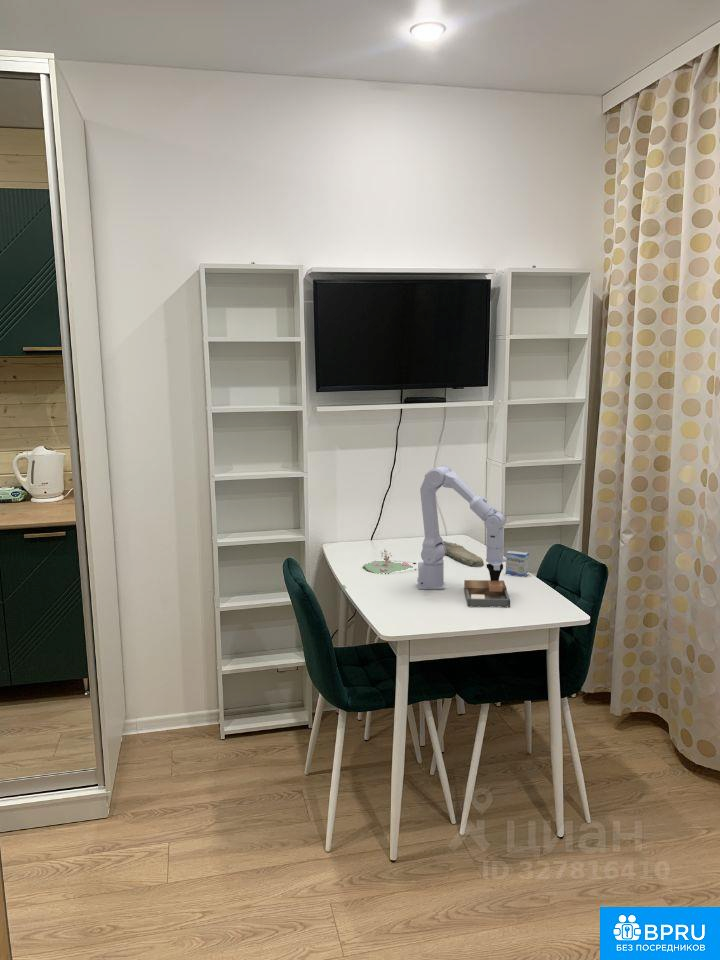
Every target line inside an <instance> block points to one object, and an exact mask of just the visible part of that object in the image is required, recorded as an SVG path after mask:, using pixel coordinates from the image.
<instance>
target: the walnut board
mask: <svg viewBox="0 0 720 960" xmlns="http://www.w3.org/2000/svg"><path fill="white" fill-rule="evenodd" d="M488 581H491V580H490V579H486V580H485V579H483V580H479V579H467V580H466V579H464V585H463V586H464V587H463V588H464V589H463V590H464V594H466V589H468V591H469V595H471V594H481V595H486V596H504V590H507V588H508V587H507V585H506V583H505V580H503V579H502V580H500V579H499V581H501V582H502V586H503V591H502V592H495V591H489V588H488ZM507 591H508V590H507Z"/></svg>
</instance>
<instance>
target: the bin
mask: <svg viewBox="0 0 720 960" xmlns="http://www.w3.org/2000/svg"><path fill="white" fill-rule="evenodd" d="M465 598H466V599H465V600H466V605H467V607H470V606H472V607H470V608H473V606H474V607H477V606H480V607H484V608H486V607H485V606H488V607H487V608H491V607H490V606H493V607H492V608H498V607H497V606H501V607H500V608H511V599H510V596H509V592H508V590H504V596H486V595H485V599H471V595H469V591H468V589H466V595H465ZM494 606H495V607H494ZM507 606H508V607H507Z"/></svg>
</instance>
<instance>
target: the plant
mask: <svg viewBox="0 0 720 960" xmlns="http://www.w3.org/2000/svg"><path fill="white" fill-rule="evenodd" d="M383 550H384V551H383V552H382V551H381V552H380V553H381V559H383V560H385V561H376V560H374V561H370V562H371V563H370V562H367V563H368V564H367V563H364V564H363V565H362V567H363V568H364V569H366V570H367V571H369V572H370V573H372V574H376V573H377V574H378V575H384V574H383V573H392V572H395V571H401V570H406V569H408V568H413V566H411V565H409V564H408V563H407V562H408V561H402V562H403V563H402V564H401V563H394V562H391V561H392V560H390V557H392V556H393V554H391V552H389V553H388V551H387V550H386V549H383ZM389 555H390V556H389ZM379 573H380V574H379ZM377 574H376V575H377ZM392 574H393V573H392Z"/></svg>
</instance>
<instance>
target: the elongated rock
mask: <svg viewBox="0 0 720 960" xmlns="http://www.w3.org/2000/svg"><path fill="white" fill-rule="evenodd" d="M443 544H444V546H445V548H446V555H445V556H447V555H448V556H447V557H449V556H450V558H453V559H454V560H457V561H459V563H462V564H464V565H467V566H469V567H473V568H481V567H483V566H484V565H485V564H484V559H483V558H482V557H480V556H478V555H476V553H473V552H471V551H469V550H467V549H465V546H463V545H460V544H457V543H454V542H453V543H452V542H448V541H446V540H445V541H444V540H443Z"/></svg>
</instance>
